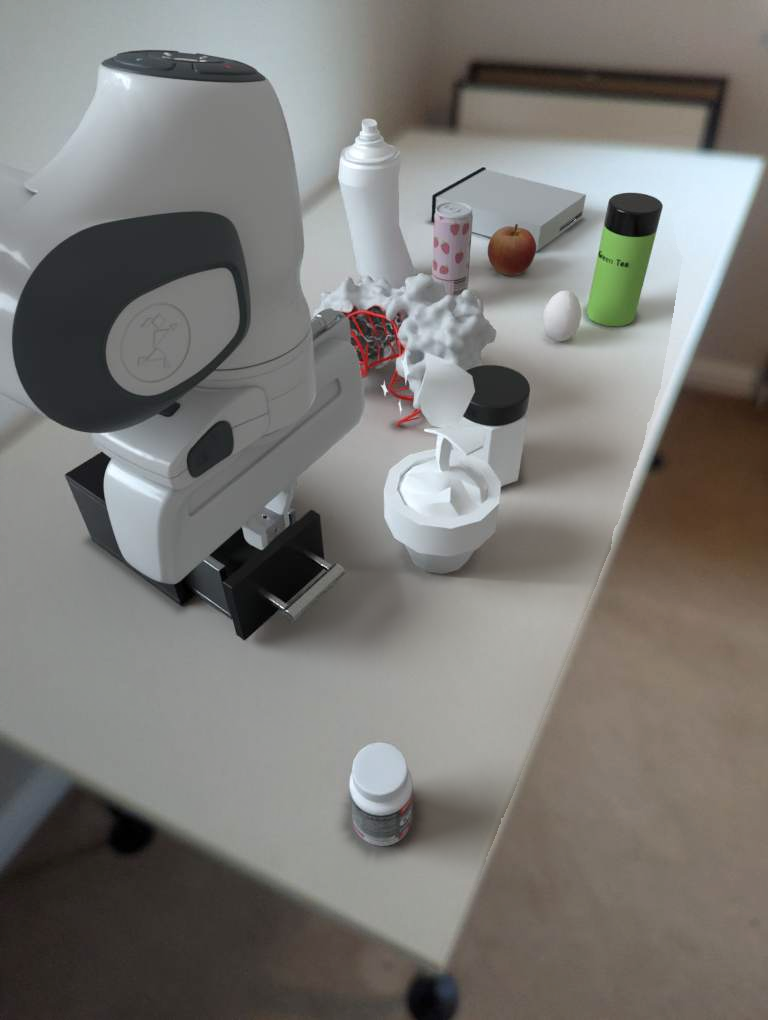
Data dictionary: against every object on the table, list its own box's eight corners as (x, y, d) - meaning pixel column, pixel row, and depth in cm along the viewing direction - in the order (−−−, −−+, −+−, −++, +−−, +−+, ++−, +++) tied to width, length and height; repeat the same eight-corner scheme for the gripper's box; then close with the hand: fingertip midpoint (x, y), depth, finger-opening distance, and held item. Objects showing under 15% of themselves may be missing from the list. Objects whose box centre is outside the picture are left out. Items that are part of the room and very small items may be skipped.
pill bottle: (412, 847, 57) (414, 800, 51) (351, 847, 57) (346, 800, 51) (411, 788, 60) (413, 737, 54) (353, 787, 60) (349, 737, 54)
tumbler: (639, 327, 111) (671, 213, 98) (590, 328, 111) (615, 213, 98) (627, 303, 116) (656, 191, 104) (580, 303, 116) (603, 191, 104)
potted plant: (380, 517, 82) (375, 319, 65) (483, 511, 83) (506, 312, 65) (389, 607, 73) (386, 404, 56) (504, 599, 74) (537, 396, 56)
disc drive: (480, 192, 148) (482, 166, 145) (582, 219, 138) (587, 192, 135) (430, 221, 138) (431, 195, 135) (536, 253, 128) (540, 225, 125)
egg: (574, 330, 110) (584, 283, 105) (578, 349, 106) (587, 301, 101) (538, 329, 111) (546, 281, 105) (540, 348, 107) (548, 300, 102)
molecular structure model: (348, 478, 98) (514, 415, 84) (258, 377, 89) (428, 286, 75) (381, 389, 111) (529, 321, 98) (306, 292, 102) (457, 202, 88)
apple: (517, 256, 128) (522, 211, 122) (542, 276, 122) (549, 229, 117) (476, 266, 125) (480, 219, 120) (500, 286, 120) (505, 239, 115)
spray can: (369, 309, 115) (364, 140, 98) (335, 282, 122) (324, 119, 104) (429, 289, 120) (434, 123, 102) (393, 264, 126) (392, 104, 109)
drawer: (362, 590, 74) (359, 536, 68) (282, 668, 67) (271, 616, 62) (235, 511, 82) (223, 458, 77) (152, 574, 76) (133, 520, 70)
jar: (450, 442, 92) (455, 360, 83) (515, 445, 91) (527, 363, 83) (449, 491, 85) (455, 408, 77) (520, 494, 85) (533, 410, 76)
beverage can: (437, 291, 119) (441, 198, 109) (470, 297, 118) (478, 203, 107) (425, 308, 115) (428, 213, 105) (460, 314, 114) (467, 219, 103)
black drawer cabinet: (271, 533, 81) (259, 467, 74) (181, 606, 74) (159, 540, 67) (182, 478, 88) (164, 412, 81) (92, 540, 80) (64, 474, 74)
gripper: (308, 284, 50) (322, 442, 60) (62, 442, 38) (129, 608, 48) (384, 310, 47) (386, 470, 57) (146, 488, 35) (199, 653, 45)
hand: (268, 534), depth 52 cm, fingers closed
